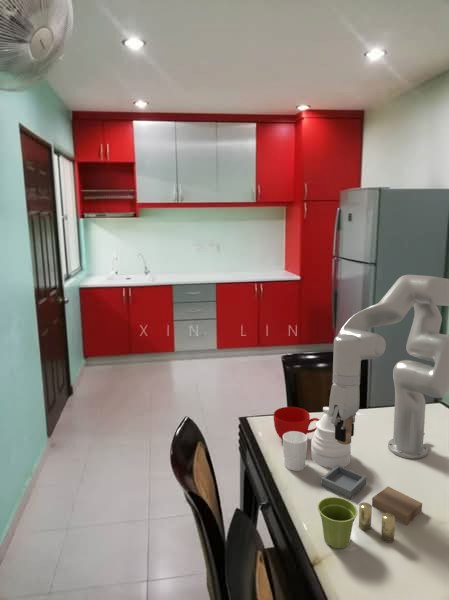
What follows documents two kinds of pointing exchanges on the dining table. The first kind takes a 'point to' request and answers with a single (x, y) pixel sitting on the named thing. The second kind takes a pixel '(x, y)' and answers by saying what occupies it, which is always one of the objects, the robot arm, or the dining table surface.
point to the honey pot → (328, 444)
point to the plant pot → (337, 520)
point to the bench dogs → (387, 522)
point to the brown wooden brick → (397, 505)
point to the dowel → (347, 430)
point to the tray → (343, 481)
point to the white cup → (294, 450)
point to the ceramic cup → (292, 420)
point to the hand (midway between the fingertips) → (344, 436)
